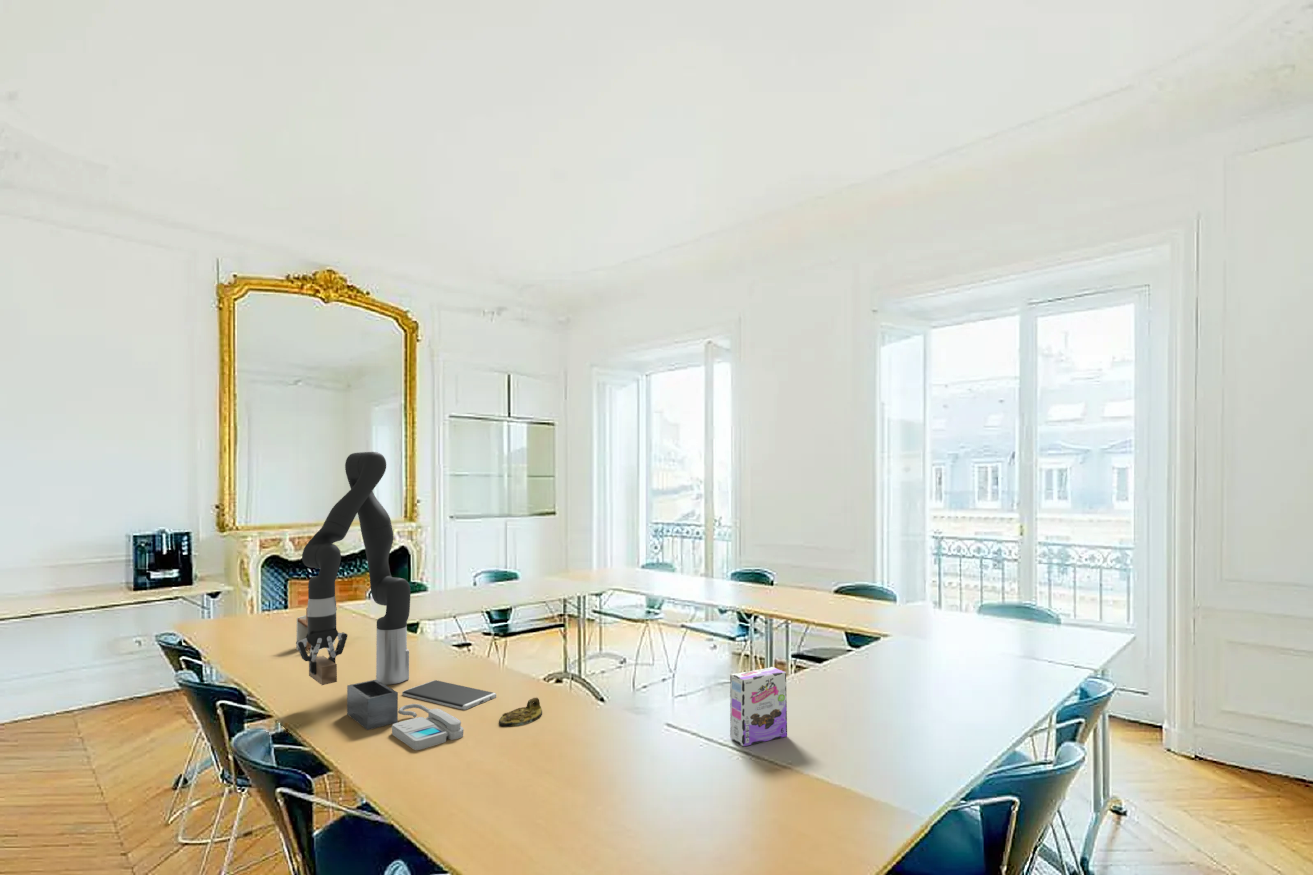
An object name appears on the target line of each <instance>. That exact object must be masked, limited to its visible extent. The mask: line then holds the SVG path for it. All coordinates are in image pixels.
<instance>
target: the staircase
mask: <svg viewBox="0 0 1313 875" xmlns="http://www.w3.org/2000/svg"><path fill="white" fill-rule="evenodd" d="M305 609H306V611H305V612H306V613H305V615H301V616H299V617H297V618H296V641H295V643H296V642H297V641H298V640H299V641H301V640H303V639H305V638H306V636H307V633H308V614H307V607H306V608H305ZM334 644H336V639H335V640H334V642H333V645H334ZM295 646H296V651H299V650H298V647H297V645H296V644H295ZM305 648H306V652H307V651H308V650H309V652H310V649H311V645H310V644H309V642H307V643H306V647H305ZM323 649H324V648H322V649H319V651H321V650H323ZM316 650H317V649H316Z"/></svg>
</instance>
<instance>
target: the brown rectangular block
mask: <svg viewBox="0 0 1313 875" xmlns="http://www.w3.org/2000/svg"><path fill="white" fill-rule="evenodd" d="M316 662H317V664H316V675H313V674H312V673H311V672H310V670H309V669H310V668H309V667H308V676H309V677H310V678H311V679H313V680H314V681H315V682H317V683H318V684H319V685H321V686H325V685H330V684H333V683H337V682H338V666H337V665H338V664H337V663H336V662H335V663H334V662H333V661H331V660H329V659H328V657H326V656H325V655H320V656H317V657H316Z"/></svg>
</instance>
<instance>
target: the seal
mask: <svg viewBox="0 0 1313 875" xmlns="http://www.w3.org/2000/svg"><path fill="white" fill-rule="evenodd" d="M540 703H541V702H540V698H539V697H532V698H531V699H530V698H529V700H528V701H527V703H526V706H524V707H518V708H516V709H513V710H510V711H508V712H504V713H503V714H502V715H501V717H500V719H499V721H498V725H499V726H500V727H519V726H524V725H527V724H528V725H529V724H530V723H533V722H535V721H537V720H538V719H540V718H541V717H542V716H543V709H542V706H541V704H540Z"/></svg>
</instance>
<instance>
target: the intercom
mask: <svg viewBox="0 0 1313 875" xmlns="http://www.w3.org/2000/svg"><path fill="white" fill-rule="evenodd" d="M408 709H420V710H422V711H424V712H425V713H426V714H428V717H427V716H426V717H423V716H418V714H417V712H415V711H412V710H408ZM399 714H400V715H403V716H411V717H413V718H410V719H407V720H403V721H402V720H401V721H399V722H397V723H393V724H391V736H394V737H395V738H396V739H397V740H399V741H401V742H402V743H403V744H405V745H407V746H408V747H409V748H411V749H412V750H414V751H419V750H421V751H422V750H424V749H427V748H430V747H433V746H437V745H441V744H444V743H446V742H447V739H448V740H450V741H452V740H458V739H461V738H462V737H464V731H465V730H464V727H463V726H462V725H461V724H462V722H461V720H460V719H458V718H457V717H456V716H453V715H452V714H450V713H448V712H446V711H444V710H442V709H440V708H432V709H431V708H428V707H426V706H425V705H422V704H419V703H411V704H406V705H403V706H401V707H400V708H399V709H398V715H399Z"/></svg>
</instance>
